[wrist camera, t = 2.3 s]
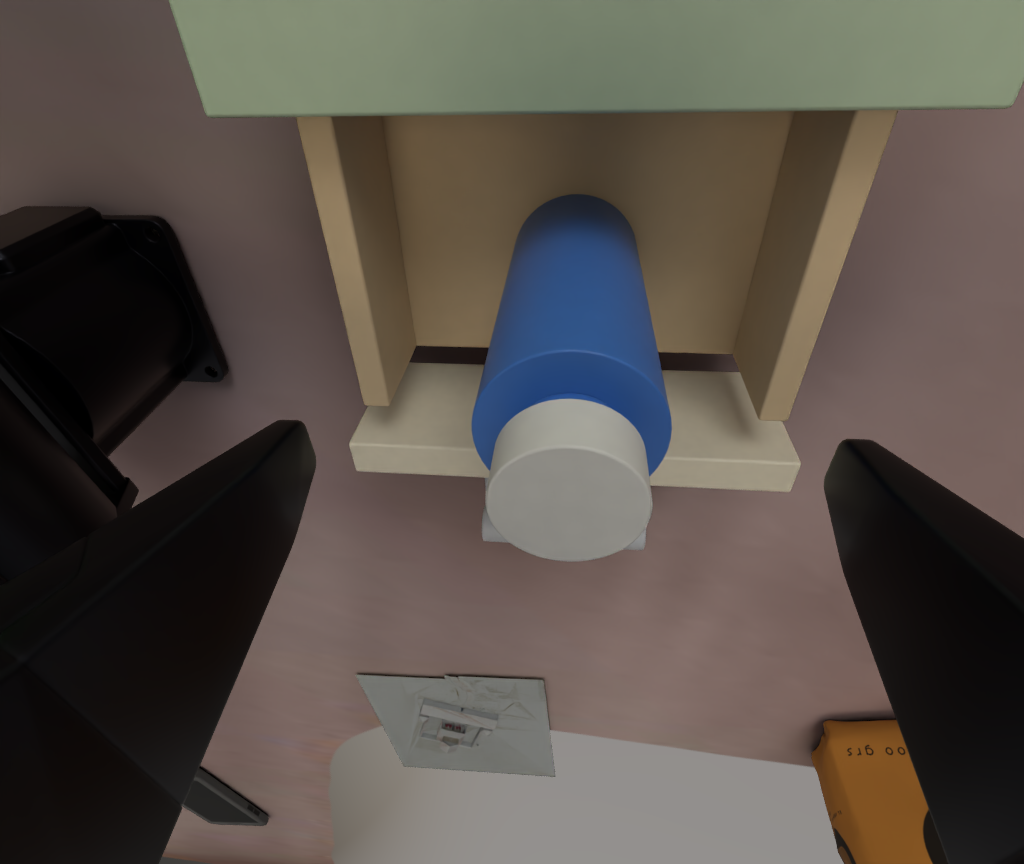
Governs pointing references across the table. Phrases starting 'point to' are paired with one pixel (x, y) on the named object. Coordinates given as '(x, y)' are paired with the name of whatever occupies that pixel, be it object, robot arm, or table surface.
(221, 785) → the cell phone
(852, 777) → the coffee package
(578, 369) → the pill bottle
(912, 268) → the table surface
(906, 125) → the table surface
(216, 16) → the cabinet
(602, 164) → the drawer
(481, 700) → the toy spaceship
